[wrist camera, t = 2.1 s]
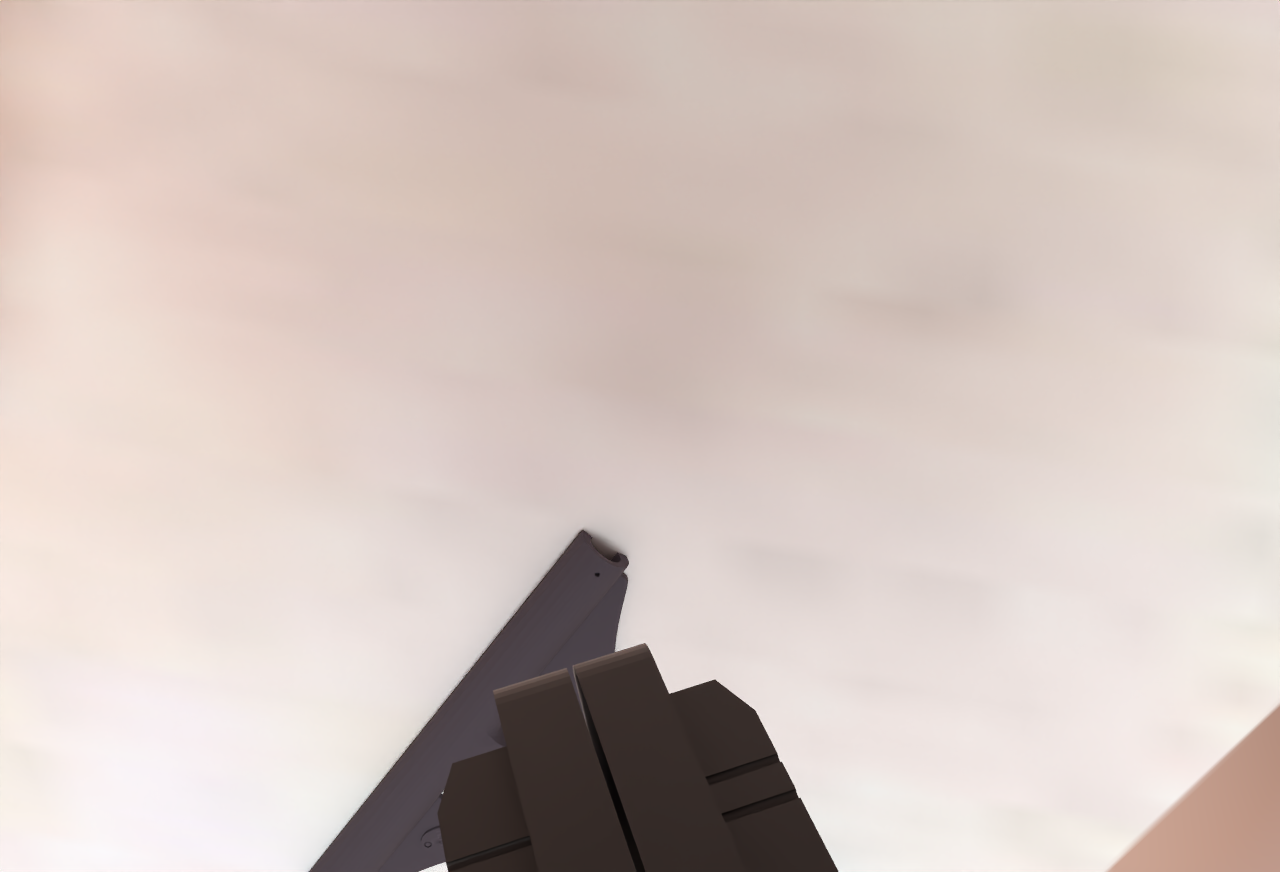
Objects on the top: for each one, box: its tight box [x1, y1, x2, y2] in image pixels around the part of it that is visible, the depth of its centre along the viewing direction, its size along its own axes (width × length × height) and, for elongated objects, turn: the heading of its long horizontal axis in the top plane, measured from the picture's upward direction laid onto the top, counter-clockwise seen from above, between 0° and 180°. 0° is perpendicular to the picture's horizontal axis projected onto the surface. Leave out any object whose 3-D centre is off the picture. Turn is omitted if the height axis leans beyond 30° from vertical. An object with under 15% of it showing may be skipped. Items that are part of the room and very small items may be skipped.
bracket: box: [309, 530, 629, 872], centre depth 37 cm, size 14×15×3 cm
